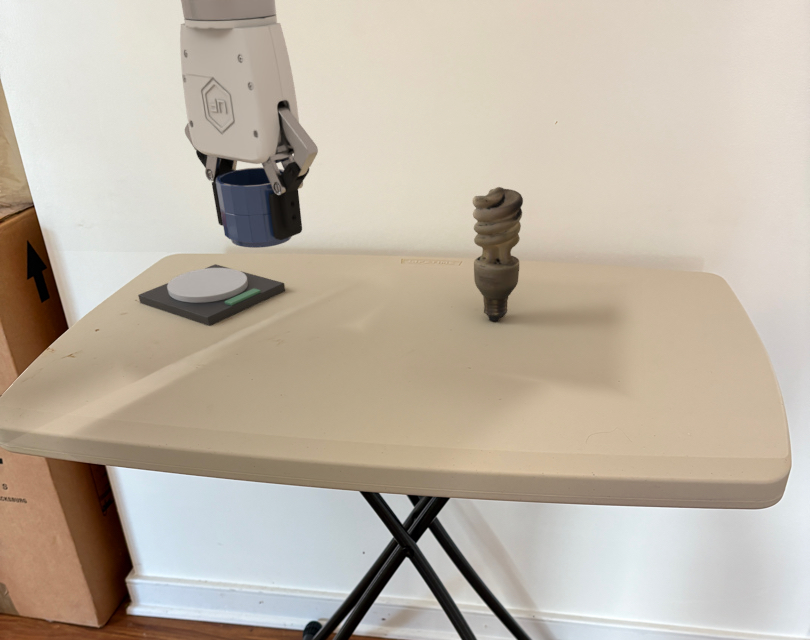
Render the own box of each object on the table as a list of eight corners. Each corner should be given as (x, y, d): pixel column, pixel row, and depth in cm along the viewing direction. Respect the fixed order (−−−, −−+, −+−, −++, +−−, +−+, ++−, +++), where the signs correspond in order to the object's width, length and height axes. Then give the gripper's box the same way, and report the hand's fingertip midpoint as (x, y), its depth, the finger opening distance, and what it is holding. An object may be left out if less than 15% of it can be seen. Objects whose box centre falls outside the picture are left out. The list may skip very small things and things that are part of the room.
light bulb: (466, 326, 91) (469, 193, 81) (473, 308, 95) (476, 180, 85) (513, 329, 90) (521, 195, 80) (518, 311, 94) (527, 181, 84)
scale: (211, 336, 91) (206, 310, 89) (142, 313, 97) (136, 288, 95) (286, 301, 99) (283, 276, 97) (218, 281, 105) (214, 258, 103)
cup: (260, 254, 70) (251, 190, 66) (211, 241, 73) (200, 179, 70) (311, 234, 74) (305, 173, 70) (262, 222, 77) (254, 164, 74)
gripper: (124, 3, 64) (171, 224, 75) (270, 10, 55) (298, 257, 66) (194, -3, 68) (228, 205, 79) (339, 1, 60) (354, 234, 71)
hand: (260, 227), depth 73 cm, fingers closed on cup, 6 cm apart
